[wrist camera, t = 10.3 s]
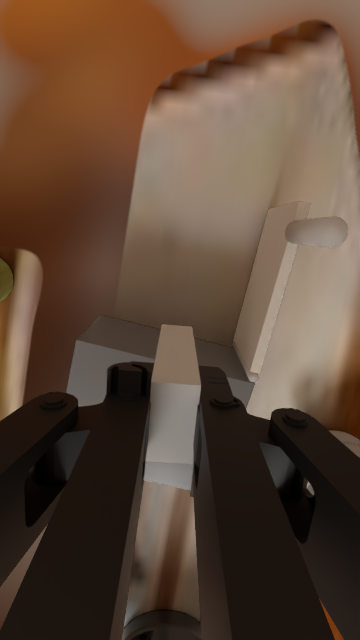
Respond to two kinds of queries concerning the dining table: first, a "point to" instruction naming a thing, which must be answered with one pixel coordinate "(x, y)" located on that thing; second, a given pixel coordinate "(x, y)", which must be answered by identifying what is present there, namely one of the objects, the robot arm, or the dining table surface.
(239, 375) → the box housing
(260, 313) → the door
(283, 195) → the dining table surface
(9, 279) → the plant pot
